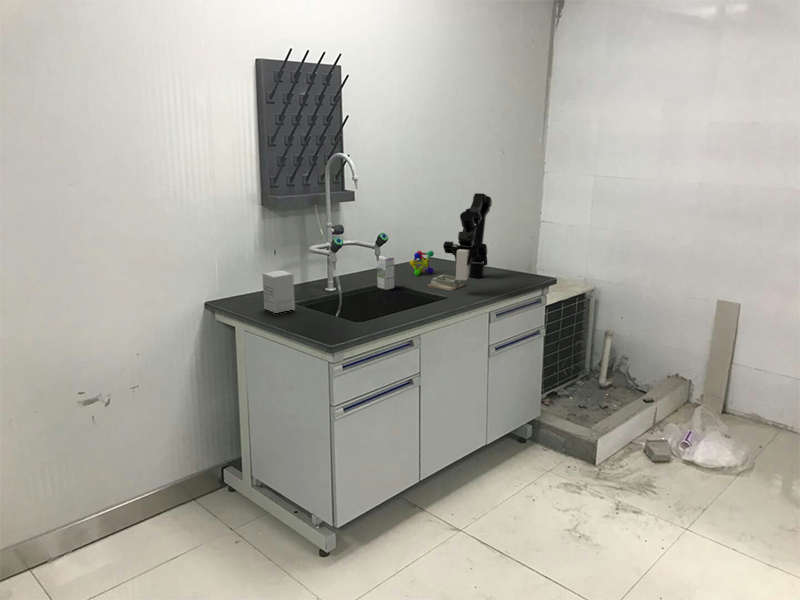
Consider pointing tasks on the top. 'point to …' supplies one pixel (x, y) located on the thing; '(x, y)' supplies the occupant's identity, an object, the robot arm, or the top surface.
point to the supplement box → (278, 291)
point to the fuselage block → (462, 264)
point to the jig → (446, 282)
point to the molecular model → (424, 262)
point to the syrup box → (385, 272)
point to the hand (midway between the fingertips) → (461, 264)
